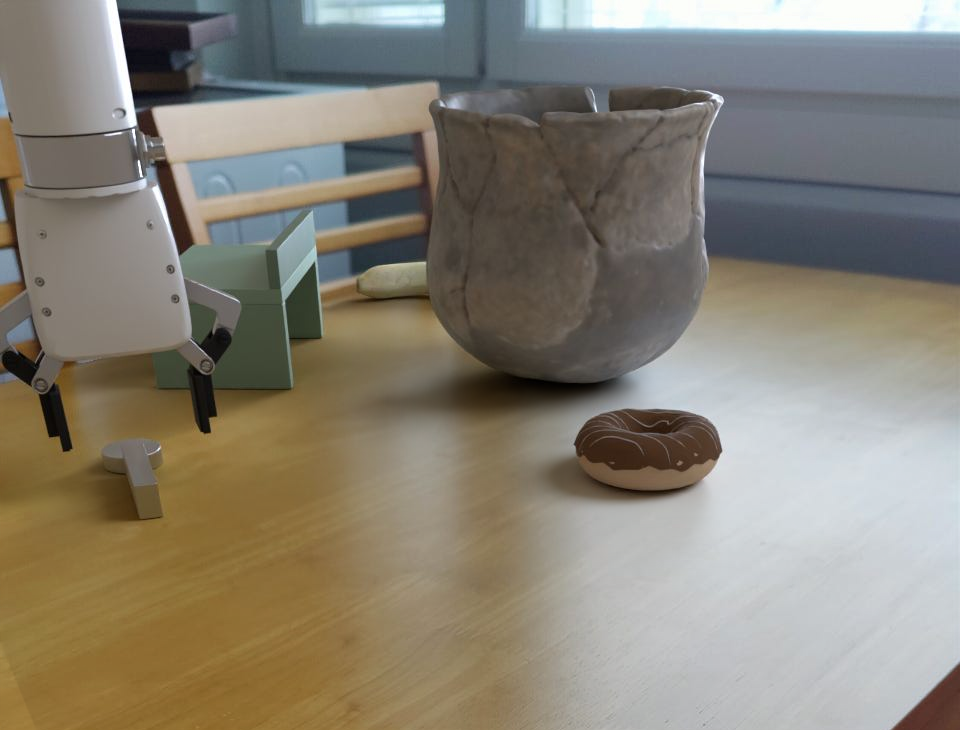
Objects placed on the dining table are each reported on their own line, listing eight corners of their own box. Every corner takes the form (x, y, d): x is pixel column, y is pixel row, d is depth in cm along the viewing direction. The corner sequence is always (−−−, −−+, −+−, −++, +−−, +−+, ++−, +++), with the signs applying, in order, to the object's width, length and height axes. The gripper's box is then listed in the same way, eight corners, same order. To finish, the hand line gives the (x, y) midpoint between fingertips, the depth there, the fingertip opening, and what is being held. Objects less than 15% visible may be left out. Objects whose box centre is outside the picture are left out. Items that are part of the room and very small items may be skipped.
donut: (622, 510, 83) (626, 453, 81) (547, 463, 91) (548, 409, 88) (748, 483, 87) (755, 427, 85) (666, 440, 95) (670, 388, 92)
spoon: (183, 514, 84) (178, 480, 82) (119, 522, 83) (112, 488, 81) (159, 450, 94) (154, 419, 93) (101, 457, 93) (95, 426, 92)
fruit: (374, 288, 136) (372, 256, 134) (505, 293, 133) (505, 260, 131) (355, 304, 131) (352, 270, 129) (490, 310, 128) (490, 276, 126)
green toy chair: (157, 388, 107) (133, 249, 100) (205, 334, 121) (187, 209, 114) (291, 389, 106) (276, 249, 100) (323, 334, 121) (313, 209, 114)
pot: (596, 325, 122) (607, 74, 109) (757, 381, 106) (793, 96, 93) (380, 366, 112) (363, 94, 99) (523, 435, 96) (526, 122, 83)
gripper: (210, 146, 81) (247, 407, 91) (-62, 166, 77) (8, 437, 87) (229, 161, 75) (265, 437, 86) (-65, 183, 71) (11, 470, 81)
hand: (136, 436), depth 86 cm, fingers open, 9 cm apart
